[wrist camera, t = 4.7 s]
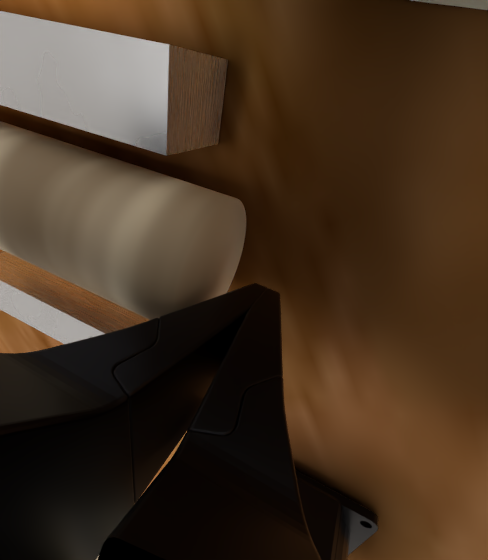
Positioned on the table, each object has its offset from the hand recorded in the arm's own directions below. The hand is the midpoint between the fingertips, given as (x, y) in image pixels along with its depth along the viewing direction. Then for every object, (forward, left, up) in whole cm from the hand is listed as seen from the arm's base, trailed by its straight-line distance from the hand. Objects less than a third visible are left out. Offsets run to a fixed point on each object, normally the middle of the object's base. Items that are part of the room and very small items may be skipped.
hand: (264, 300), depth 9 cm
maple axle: (0, +8, -2) cm, 8 cm away
